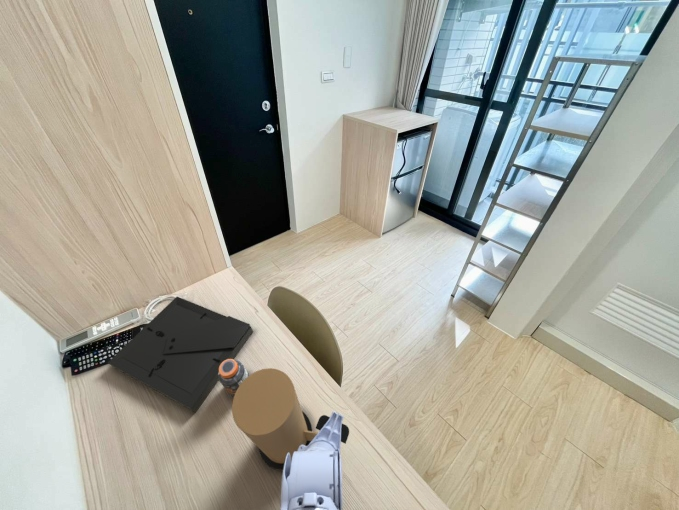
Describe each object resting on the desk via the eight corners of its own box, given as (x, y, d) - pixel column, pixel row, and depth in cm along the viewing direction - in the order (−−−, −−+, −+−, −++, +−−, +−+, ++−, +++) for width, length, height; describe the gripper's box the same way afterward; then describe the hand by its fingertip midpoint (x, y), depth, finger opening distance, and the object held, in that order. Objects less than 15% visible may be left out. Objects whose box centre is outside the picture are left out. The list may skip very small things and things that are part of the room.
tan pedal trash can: (331, 474, 55) (328, 449, 39) (255, 458, 57) (220, 429, 40) (339, 419, 62) (339, 378, 46) (271, 407, 64) (247, 363, 48)
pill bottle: (223, 392, 68) (207, 373, 60) (237, 370, 72) (225, 350, 64) (242, 401, 66) (229, 384, 58) (256, 378, 70) (246, 359, 62)
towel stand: (305, 475, 56) (304, 475, 55) (250, 464, 57) (249, 463, 57) (317, 412, 65) (317, 411, 64) (269, 403, 66) (269, 402, 65)
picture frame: (253, 331, 80) (180, 302, 88) (250, 324, 77) (175, 294, 85) (195, 412, 65) (114, 367, 72) (189, 407, 62) (104, 360, 70)
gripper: (314, 401, 42) (320, 404, 54) (267, 518, 35) (285, 492, 47) (357, 422, 41) (352, 420, 52) (316, 547, 34) (321, 513, 46)
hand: (323, 455), depth 50 cm, fingers open, 7 cm apart
